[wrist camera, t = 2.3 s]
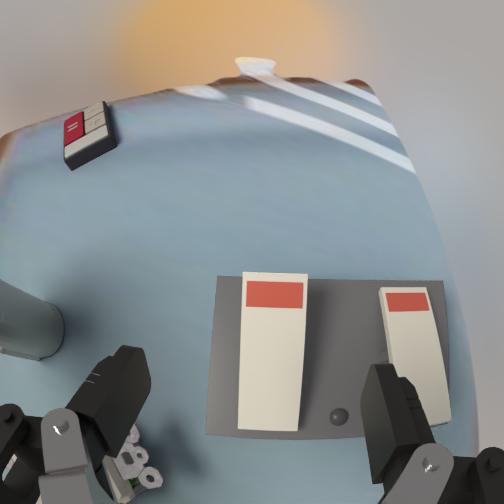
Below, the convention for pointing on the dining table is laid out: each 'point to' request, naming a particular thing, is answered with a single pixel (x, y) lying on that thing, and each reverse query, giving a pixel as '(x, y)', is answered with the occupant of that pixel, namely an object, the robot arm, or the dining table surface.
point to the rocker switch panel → (314, 355)
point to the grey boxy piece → (126, 469)
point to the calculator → (88, 135)
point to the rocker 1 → (271, 350)
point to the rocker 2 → (416, 347)
